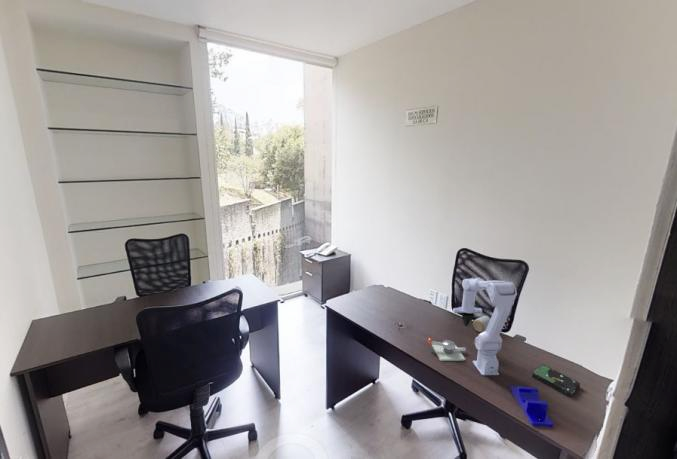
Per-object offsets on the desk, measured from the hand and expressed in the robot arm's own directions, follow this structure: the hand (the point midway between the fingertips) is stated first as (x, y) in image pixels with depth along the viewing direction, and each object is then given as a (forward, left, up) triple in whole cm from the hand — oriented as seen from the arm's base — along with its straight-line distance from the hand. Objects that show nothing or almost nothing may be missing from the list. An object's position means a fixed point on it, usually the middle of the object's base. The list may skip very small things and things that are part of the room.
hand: (465, 325), depth 160 cm
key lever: (-8, +15, -7) cm, 19 cm away
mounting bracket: (-43, -7, -10) cm, 45 cm away
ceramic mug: (+10, -16, -10) cm, 22 cm away
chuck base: (-9, +11, -10) cm, 17 cm away
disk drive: (-30, -27, -11) cm, 42 cm away
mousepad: (+14, +27, -11) cm, 32 cm away
